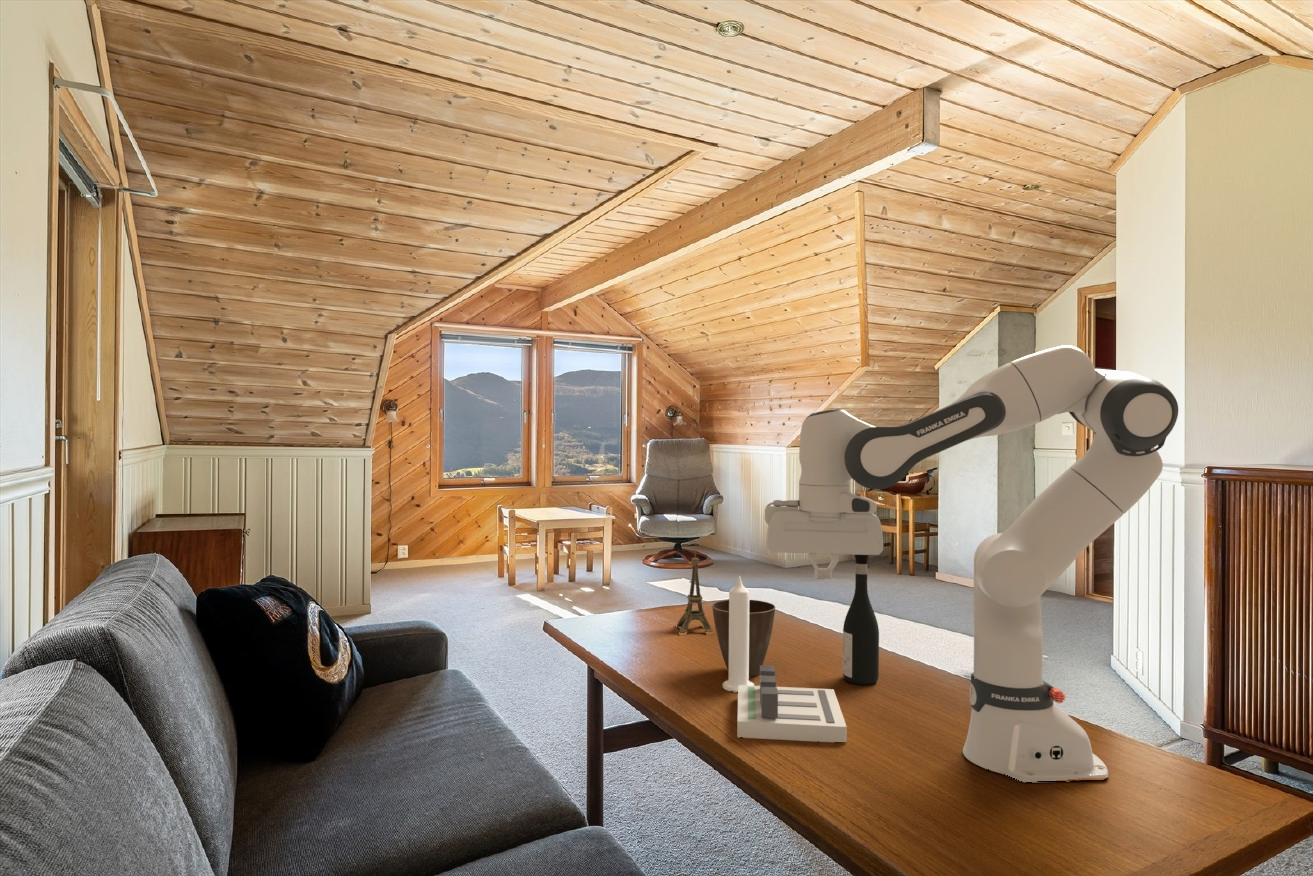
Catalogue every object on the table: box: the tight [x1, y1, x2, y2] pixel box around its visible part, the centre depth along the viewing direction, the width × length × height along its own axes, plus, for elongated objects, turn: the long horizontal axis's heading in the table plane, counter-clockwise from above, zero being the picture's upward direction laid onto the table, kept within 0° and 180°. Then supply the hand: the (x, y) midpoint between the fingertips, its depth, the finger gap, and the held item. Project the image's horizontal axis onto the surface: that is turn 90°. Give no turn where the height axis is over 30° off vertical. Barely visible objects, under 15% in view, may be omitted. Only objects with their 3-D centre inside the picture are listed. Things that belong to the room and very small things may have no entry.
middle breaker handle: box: [759, 674, 777, 704], centre depth 153 cm, size 3×4×4 cm
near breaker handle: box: [761, 686, 778, 718], centre depth 146 cm, size 3×4×4 cm
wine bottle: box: [842, 555, 880, 686], centre depth 177 cm, size 8×8×30 cm
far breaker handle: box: [759, 664, 776, 677], centre depth 160 cm, size 3×4×4 cm
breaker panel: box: [736, 685, 848, 743], centre depth 152 cm, size 20×21×3 cm
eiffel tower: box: [676, 548, 714, 633], centre depth 221 cm, size 11×11×25 cm
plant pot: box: [712, 599, 776, 678], centre depth 182 cm, size 15×15×16 cm
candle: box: [722, 575, 755, 693], centre depth 171 cm, size 7×7×25 cm
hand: (823, 578), depth 136 cm, fingers closed
